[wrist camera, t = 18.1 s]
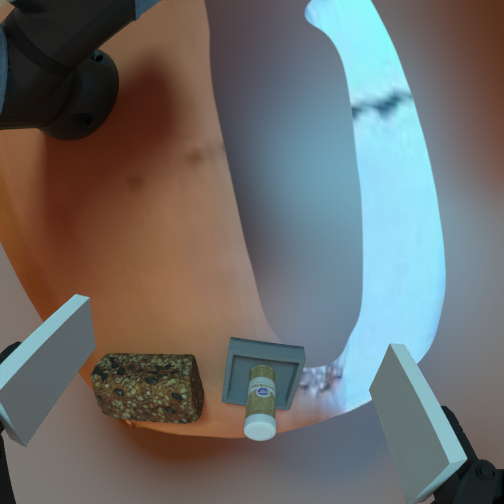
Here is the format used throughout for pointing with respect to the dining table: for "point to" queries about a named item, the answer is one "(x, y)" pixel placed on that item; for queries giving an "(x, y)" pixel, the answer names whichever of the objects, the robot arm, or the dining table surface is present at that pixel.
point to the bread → (149, 387)
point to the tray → (274, 355)
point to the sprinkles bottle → (260, 404)
